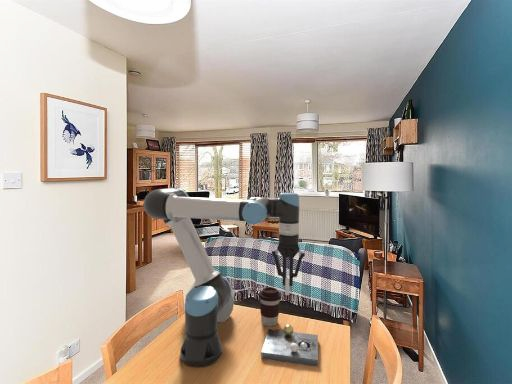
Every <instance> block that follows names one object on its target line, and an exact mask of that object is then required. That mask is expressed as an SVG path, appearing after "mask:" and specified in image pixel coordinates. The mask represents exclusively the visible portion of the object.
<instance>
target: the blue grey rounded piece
mask: <svg viewBox="0 0 512 384" xmlns="http://www.w3.org/2000/svg"><path fill="white" fill-rule="evenodd" d="M194 283H195V281H194V282H193V283H192V285H191V286H190V289H189V291H190V290H192V289H194V288H195V287H194ZM232 287H233V286H231V290H232V292H231V297H230V299H229V301H228V303H227V304H226V305H225V306H224V308H223V309H222V310H221V312H220V313H219V315H218V319H217V323H218V322H219V323H220V322H221V323H224V322H226V321H227V320H228V319H229V317H230V316H231V315H232V312H233V310H234V304H235V295H234V289H233V288H232Z"/></svg>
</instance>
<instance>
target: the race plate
mask: <svg viewBox="0 0 512 384" xmlns="http://www.w3.org/2000/svg"><path fill="white" fill-rule="evenodd" d="M318 337H319V335H318V334H312V333H311V334H310V333H303V332H295V331H293V334H292V335H290V336H288V335H286V334H285V333H284V331H283V330H279V329H273V328H272V329H271V328H268V329H267V332H266V336H265V339H264V342H263V345H262V349H261V352H260V359H261V360H265V361H266V360H269V361H274V362H279V363H280V362H282V363H288V364H296V365H303V366H309V367H316V368H318V367H319V365H318V364H319V362H318V361H319V344H318V343H319V342H318V341H319V338H318ZM303 342H304V343H306V344H307V345H308V348H306V349H305V348H301V347H299V346H300V344H301V343H303ZM292 343H296V344H297V345H298V350H297V352H292V351H291V350H290V345H291V344H292Z"/></svg>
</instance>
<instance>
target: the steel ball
mask: <svg viewBox="0 0 512 384" xmlns="http://www.w3.org/2000/svg"><path fill="white" fill-rule="evenodd" d="M299 347H301V348H305V349H306V348H308V345H307V344H306V343H304V342H303V343H301V344H300V346H299Z"/></svg>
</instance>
